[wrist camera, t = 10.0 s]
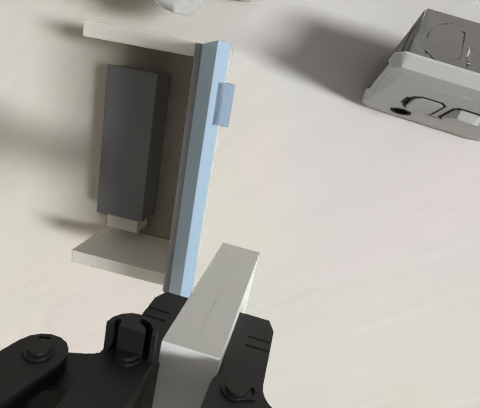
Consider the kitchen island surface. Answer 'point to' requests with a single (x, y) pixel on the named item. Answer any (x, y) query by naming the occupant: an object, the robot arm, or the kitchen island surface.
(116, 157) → the dark grey block
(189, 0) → the cup
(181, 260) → the cover
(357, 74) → the kitchen island surface
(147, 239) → the white u-shaped bracket
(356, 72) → the kitchen island surface
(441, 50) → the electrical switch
